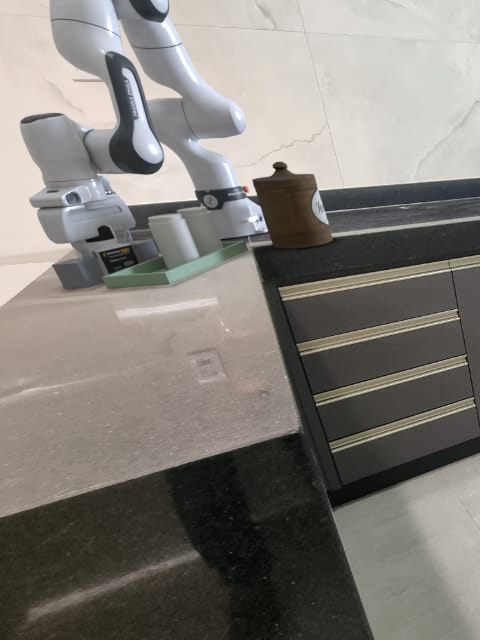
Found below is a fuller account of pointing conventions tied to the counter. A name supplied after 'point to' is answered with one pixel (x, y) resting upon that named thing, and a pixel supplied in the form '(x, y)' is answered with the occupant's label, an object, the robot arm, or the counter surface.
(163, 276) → the tray
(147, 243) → the grey box
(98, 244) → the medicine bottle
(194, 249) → the white bottle
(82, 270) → the grey box
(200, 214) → the white bottle
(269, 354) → the counter surface
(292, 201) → the wooden container
